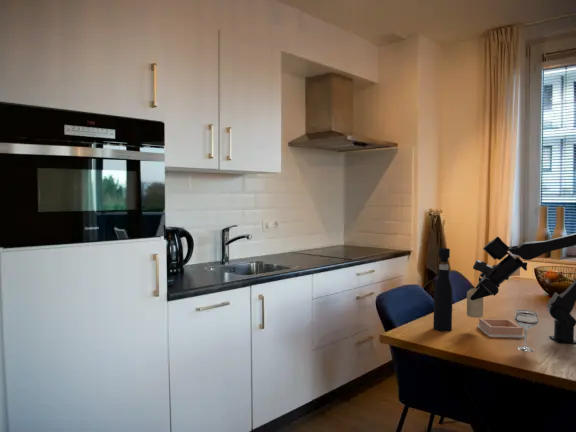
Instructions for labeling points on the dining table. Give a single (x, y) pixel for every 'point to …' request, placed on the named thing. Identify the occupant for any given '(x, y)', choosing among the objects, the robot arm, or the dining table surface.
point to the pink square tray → (500, 328)
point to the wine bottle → (443, 295)
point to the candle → (474, 305)
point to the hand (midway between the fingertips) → (470, 297)
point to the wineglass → (526, 324)
